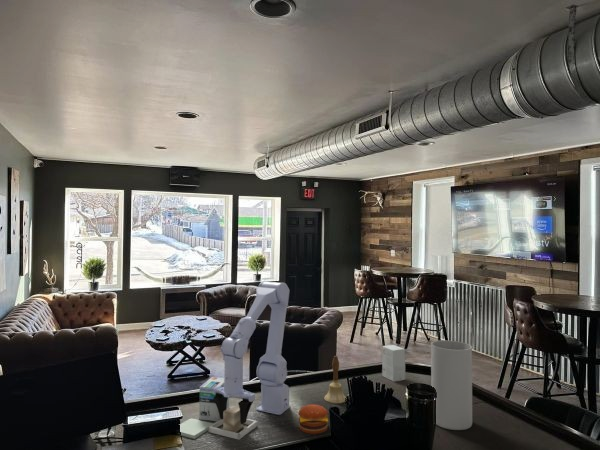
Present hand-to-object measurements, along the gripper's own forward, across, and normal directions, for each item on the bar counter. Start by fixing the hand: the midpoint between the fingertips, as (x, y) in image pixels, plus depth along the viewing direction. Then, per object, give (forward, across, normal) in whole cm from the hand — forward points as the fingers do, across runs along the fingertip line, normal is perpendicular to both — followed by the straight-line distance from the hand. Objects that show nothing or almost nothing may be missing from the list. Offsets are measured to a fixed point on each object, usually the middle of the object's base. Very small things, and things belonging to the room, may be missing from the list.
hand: (233, 420), depth 132 cm
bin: (+3, 0, 0) cm, 3 cm away
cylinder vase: (+3, +61, +35) cm, 70 cm away
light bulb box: (+3, -12, +6) cm, 14 cm away
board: (+3, -11, -6) cm, 13 cm away
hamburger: (+3, +22, +12) cm, 25 cm away
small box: (+3, +34, +70) cm, 78 cm away
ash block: (+3, 0, 0) cm, 3 cm away
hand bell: (+3, +20, +37) cm, 42 cm away
